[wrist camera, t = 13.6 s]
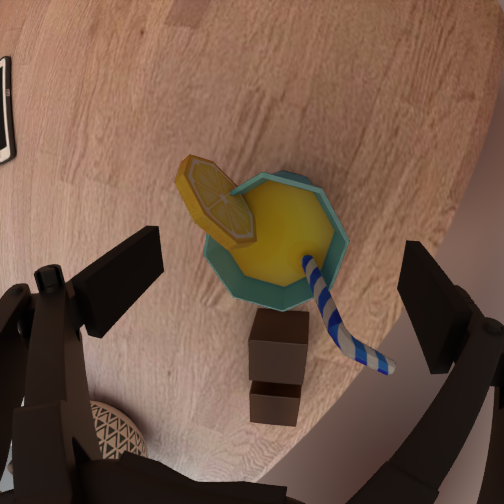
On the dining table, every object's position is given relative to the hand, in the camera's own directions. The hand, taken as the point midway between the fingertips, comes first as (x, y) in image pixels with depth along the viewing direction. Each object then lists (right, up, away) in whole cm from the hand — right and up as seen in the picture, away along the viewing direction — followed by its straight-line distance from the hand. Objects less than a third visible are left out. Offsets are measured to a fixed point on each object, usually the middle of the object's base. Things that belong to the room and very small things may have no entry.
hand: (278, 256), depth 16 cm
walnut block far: (+2, -14, +17) cm, 22 cm away
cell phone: (-35, +19, +11) cm, 41 cm away
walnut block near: (+2, -8, +15) cm, 17 cm away
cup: (+2, +4, +10) cm, 11 cm away
